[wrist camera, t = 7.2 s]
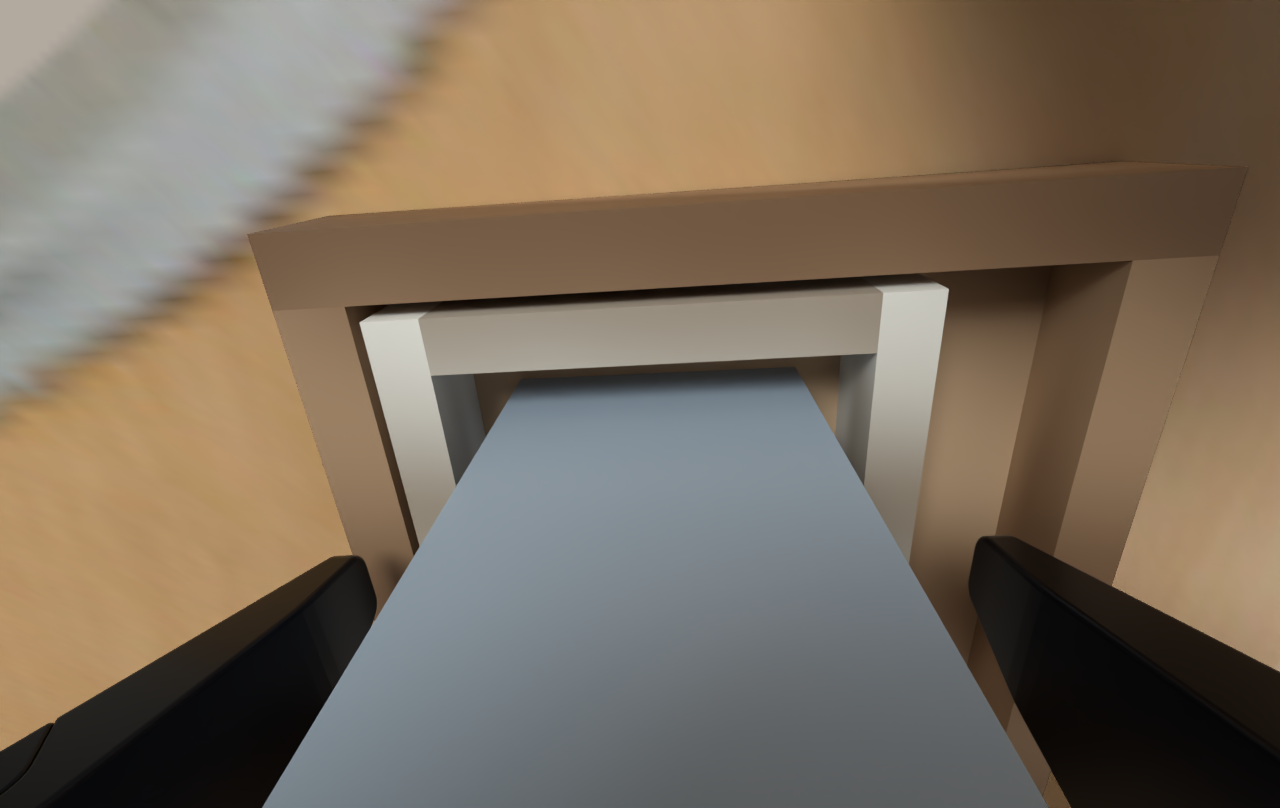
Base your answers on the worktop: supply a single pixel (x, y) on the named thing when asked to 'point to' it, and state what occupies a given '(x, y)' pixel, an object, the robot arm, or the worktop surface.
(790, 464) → the block
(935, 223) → the walnut box
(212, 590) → the worktop surface
